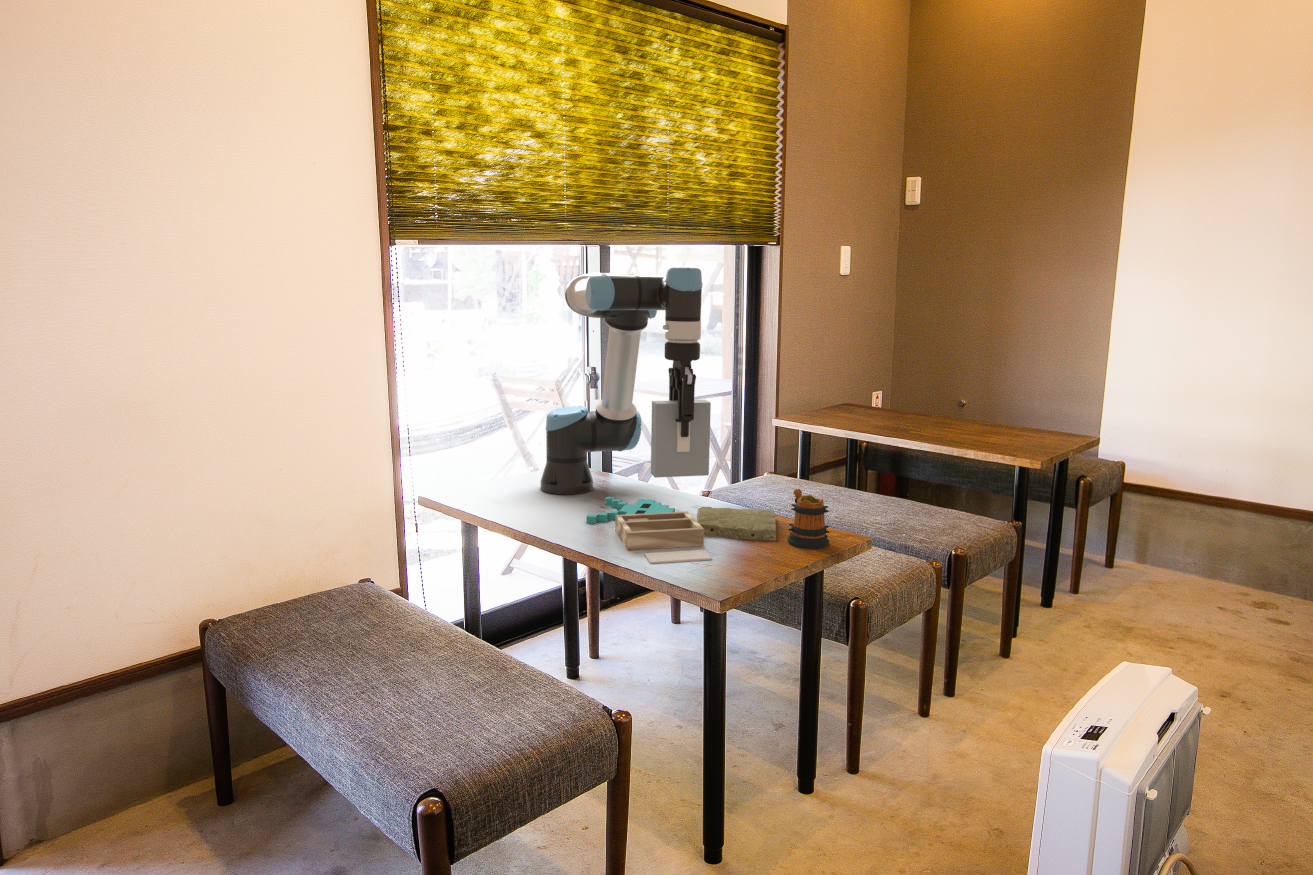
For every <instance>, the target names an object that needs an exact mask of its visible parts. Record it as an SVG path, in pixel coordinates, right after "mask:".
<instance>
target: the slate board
mask: <svg viewBox="0 0 1313 875" xmlns="http://www.w3.org/2000/svg"><path fill="white" fill-rule="evenodd" d="M711 404H712V402H711V401H708V400H707V399H694V419H693V420H691V422H690V451H689V452H677V422H676V421H675V419H679V411H678V400H673V401H669V400H651V428H650V429H651V433H650V434H651V435H650V436H651V440H650V444H651V446H650V474H651V475H652V476H653V477H654V478H677V477H679V478H680V477H699V476H700V477H701V476H702V477H703V476H709V475H710V444H711V443H710V442H711V440H710V438H711V409H712V408H711V407H712V405H711Z"/></svg>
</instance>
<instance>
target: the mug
mask: <svg viewBox="0 0 1313 875" xmlns="http://www.w3.org/2000/svg"><path fill="white" fill-rule="evenodd" d="M802 492H803V491H802V489H801V488H795V489H794V490H793V495H794V496H795V498H794V503H791V504H790V505H791V506H792V508H791V511H794V517H793V518H794V519H793V523H788V525H789V526H791V528H789V529H788V531H789V532H790V533H789V536H788V537H787V543H788V544H789V546H792V547H793V548H798V549H801V550H812V551H813V550H815V551H816V550H822V549H825V548H827V547H829V545H830V539H828V537H829V536H828V534H830V530H827V529H828V528H829V527H830V526H829V525H826V521H825V520H826V518H825V513H829V512H830V510H828V509H827V508H829V506H828V505H825V502H824V499H823V498H818V497H817V498H816V497H815V496H814V495H811V494H807V495H802V494H803V493H802Z"/></svg>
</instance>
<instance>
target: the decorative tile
mask: <svg viewBox="0 0 1313 875" xmlns="http://www.w3.org/2000/svg"><path fill="white" fill-rule="evenodd" d="M696 514H697V515H696V521H697V522H698V523H699V524H700V525H701V526H702V527H703V528H704V537H719V538H720V537H722V538H729V539H730V538H732V539H735V540H736V539H737V540H753V541H754V540H756V541H757V540H759V541H760V540H761V541H777V523H776V512H775V510H771V509H770V510H766V509H755V508H754V509H753V508H734V507H733V508H731V507H711V506H700V507H698V509H697V513H696Z"/></svg>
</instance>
